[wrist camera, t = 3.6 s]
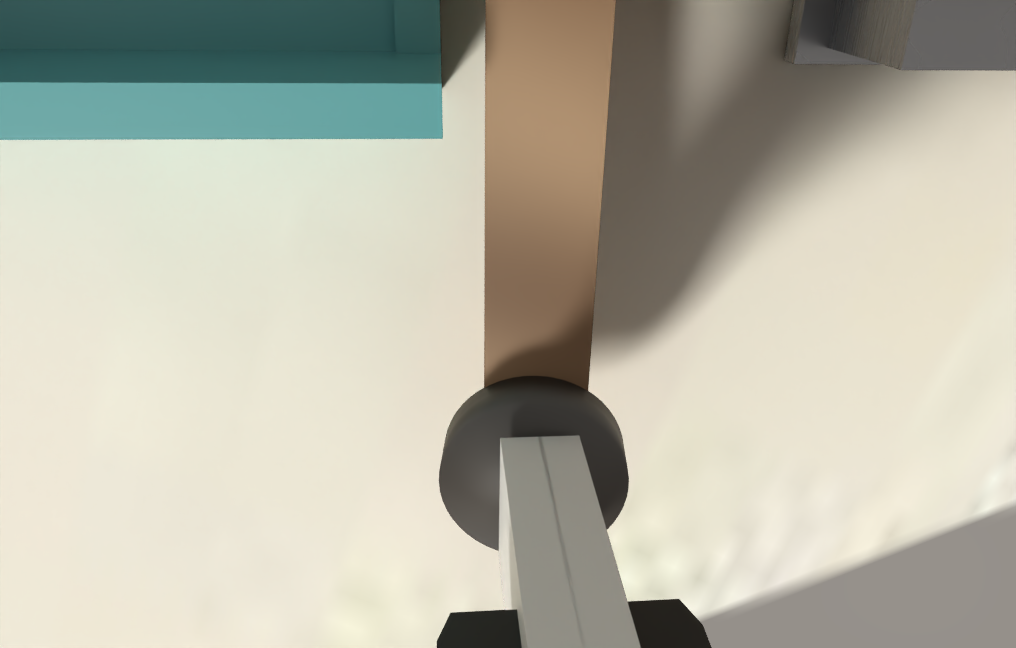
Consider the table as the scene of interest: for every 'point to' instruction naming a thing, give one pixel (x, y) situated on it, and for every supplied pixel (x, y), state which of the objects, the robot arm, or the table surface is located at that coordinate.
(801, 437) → the table surface
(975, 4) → the stand
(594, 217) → the lever
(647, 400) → the table surface
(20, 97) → the tray
